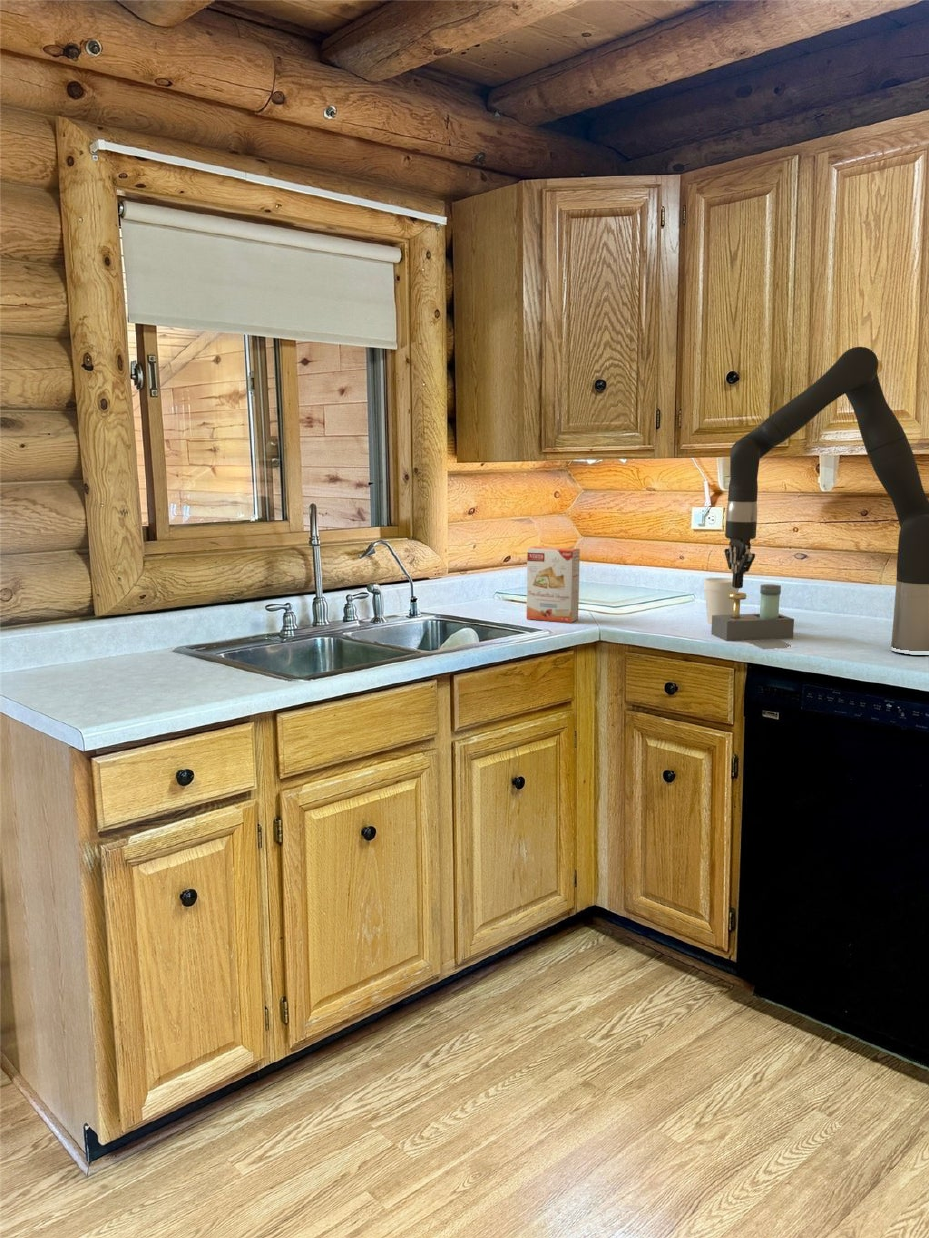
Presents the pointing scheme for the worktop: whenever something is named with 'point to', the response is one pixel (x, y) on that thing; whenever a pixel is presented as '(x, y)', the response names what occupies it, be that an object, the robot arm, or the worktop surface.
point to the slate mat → (770, 644)
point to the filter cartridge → (769, 601)
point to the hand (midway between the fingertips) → (737, 587)
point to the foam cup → (718, 597)
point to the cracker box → (553, 584)
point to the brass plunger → (736, 602)
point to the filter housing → (751, 627)
